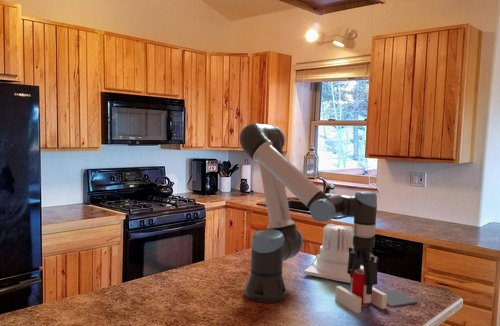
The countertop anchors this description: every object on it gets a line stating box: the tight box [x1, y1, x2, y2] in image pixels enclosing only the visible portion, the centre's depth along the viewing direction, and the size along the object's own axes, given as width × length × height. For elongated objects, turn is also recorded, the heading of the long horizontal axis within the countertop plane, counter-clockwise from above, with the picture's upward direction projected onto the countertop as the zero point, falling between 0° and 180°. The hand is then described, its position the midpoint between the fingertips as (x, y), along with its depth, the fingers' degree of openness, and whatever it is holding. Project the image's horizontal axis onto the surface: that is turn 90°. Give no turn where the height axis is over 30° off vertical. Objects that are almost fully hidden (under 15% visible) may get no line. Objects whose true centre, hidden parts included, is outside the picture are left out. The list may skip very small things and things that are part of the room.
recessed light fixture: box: [303, 223, 364, 284], centre depth 178 cm, size 25×22×21 cm
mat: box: [381, 289, 418, 308], centre depth 153 cm, size 12×12×1 cm
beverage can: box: [352, 269, 370, 308], centre depth 147 cm, size 6×6×12 cm
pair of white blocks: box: [334, 285, 387, 314], centre depth 147 cm, size 13×12×5 cm
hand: (360, 298), depth 147 cm, fingers closed on beverage can, 6 cm apart
